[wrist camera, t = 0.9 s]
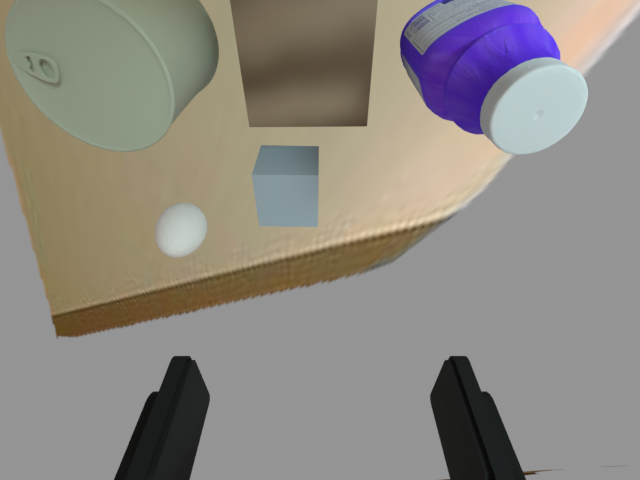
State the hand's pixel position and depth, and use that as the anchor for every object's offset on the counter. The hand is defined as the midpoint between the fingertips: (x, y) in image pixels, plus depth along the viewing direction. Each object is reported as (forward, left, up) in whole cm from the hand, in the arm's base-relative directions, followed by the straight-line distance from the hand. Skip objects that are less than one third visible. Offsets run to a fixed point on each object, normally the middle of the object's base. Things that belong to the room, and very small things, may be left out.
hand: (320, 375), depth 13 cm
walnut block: (-6, -1, -26) cm, 27 cm away
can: (-6, -13, -26) cm, 30 cm away
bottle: (-7, +10, -26) cm, 29 cm away
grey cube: (+6, -3, -26) cm, 27 cm away
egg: (+12, -16, -26) cm, 33 cm away
